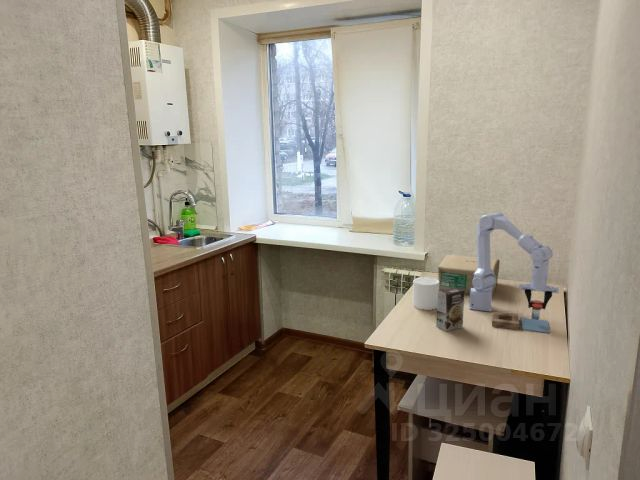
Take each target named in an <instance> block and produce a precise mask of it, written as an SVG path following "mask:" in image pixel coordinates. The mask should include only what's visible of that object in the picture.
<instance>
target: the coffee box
mask: <svg viewBox="0 0 640 480" xmlns="http://www.w3.org/2000/svg"><path fill="white" fill-rule="evenodd" d="M465 295H466V294H465V291H464V290H462V289H459V288H456V287H450V288H446V289H441V290H438V302H437V308H436V322H435V326H436V327H437V328H439V329H441V330H442V331H444V332H450V331H453V330H456V329H461V328H463V324H464V323H463V322H464V307H465V306H464V305H465Z"/></svg>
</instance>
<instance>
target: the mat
mask: <svg viewBox="0 0 640 480" xmlns="http://www.w3.org/2000/svg"><path fill="white" fill-rule="evenodd" d="M520 319H521V330H522V331H529V332H534V333H535V332H536V333H543V334H544V333H545V334H550V328H549V323H548V320H545V319H539V320H534V319H532V318H528V317H520Z"/></svg>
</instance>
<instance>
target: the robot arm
mask: <svg viewBox="0 0 640 480" xmlns="http://www.w3.org/2000/svg"><path fill="white" fill-rule="evenodd" d="M495 230H503V231H504V232H506V233H507V234H508V235H510V236H511V237H512V238H513V239H515V240H517V244H518V246H519V247H521V248H522V249H523V250H524V251H525V252H527V253H528V254H529V256H530V259H531V260H532V271H531V280H530V281H531V282H530V283H527V284H526V283H524V284H522V283H519V284H518V291H524V295H525V297H526V299H527V303H528V305H527V307H528V308H529V309H531V308H532V307H531V301H532V292H533V291H534V292H541V293H542V292H543V293H544V294H543V295H544V296H543V303H544V306H543V309H542V310H546V308H547V305H548V302H549V301H550V299H551V298H552V297H553V293H554V294H557V295H558V294H559V287H558V286H557V287H556V286H552V285H551V286H550V285H548V275H549V266H550V264H549V263H550V259H552V257H553V255H554V254H553V250H552V249H551V247H550V246H548V245H543V243H541V242H539V241H537V240H536V239H535V238H534V236H533V235H532V234H529V233H527V234H524V233H523V232H522V231H521V230H520V229H519V228H518V227H517V226H516V225H515V224H513V222H511V221H510V219H509V218H508V216H506V215H505V214H504V213H502V212H499V211H498V212H494V213H493V212H492V213H488V214H483V215H482V216H481V217H479V219H478V225H477V228H476V255H477V256H476V257H477V261H478V269H477V270H476V272H475V273H474V278H473V281H472V284H473V287H474V288H471V292H470V295H469V303H468V304H469V309H470V310H475V311H483V312H484V311H485V312H493V311H492V310H493V304H492V301H493V300H492V299H493V295H492V289H493V286H494V285H495V284H496V285H497V283H496V278H495V275H494V271H493V270H492V269H491V263H490V258H491V239H490V238H491V234H492V232H493V231H495Z"/></svg>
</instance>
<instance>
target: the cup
mask: <svg viewBox="0 0 640 480" xmlns="http://www.w3.org/2000/svg"><path fill="white" fill-rule="evenodd" d="M438 290H439V280H438V278H435V277H432V276H431V277H429V276H421V277H420V276H419V277H415V278H414V279H413V281H412V306H413V307H414V308H416V309H417V310H422V309H424V311H432V309H433V310H435V309H436V310H437V302H438Z"/></svg>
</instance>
